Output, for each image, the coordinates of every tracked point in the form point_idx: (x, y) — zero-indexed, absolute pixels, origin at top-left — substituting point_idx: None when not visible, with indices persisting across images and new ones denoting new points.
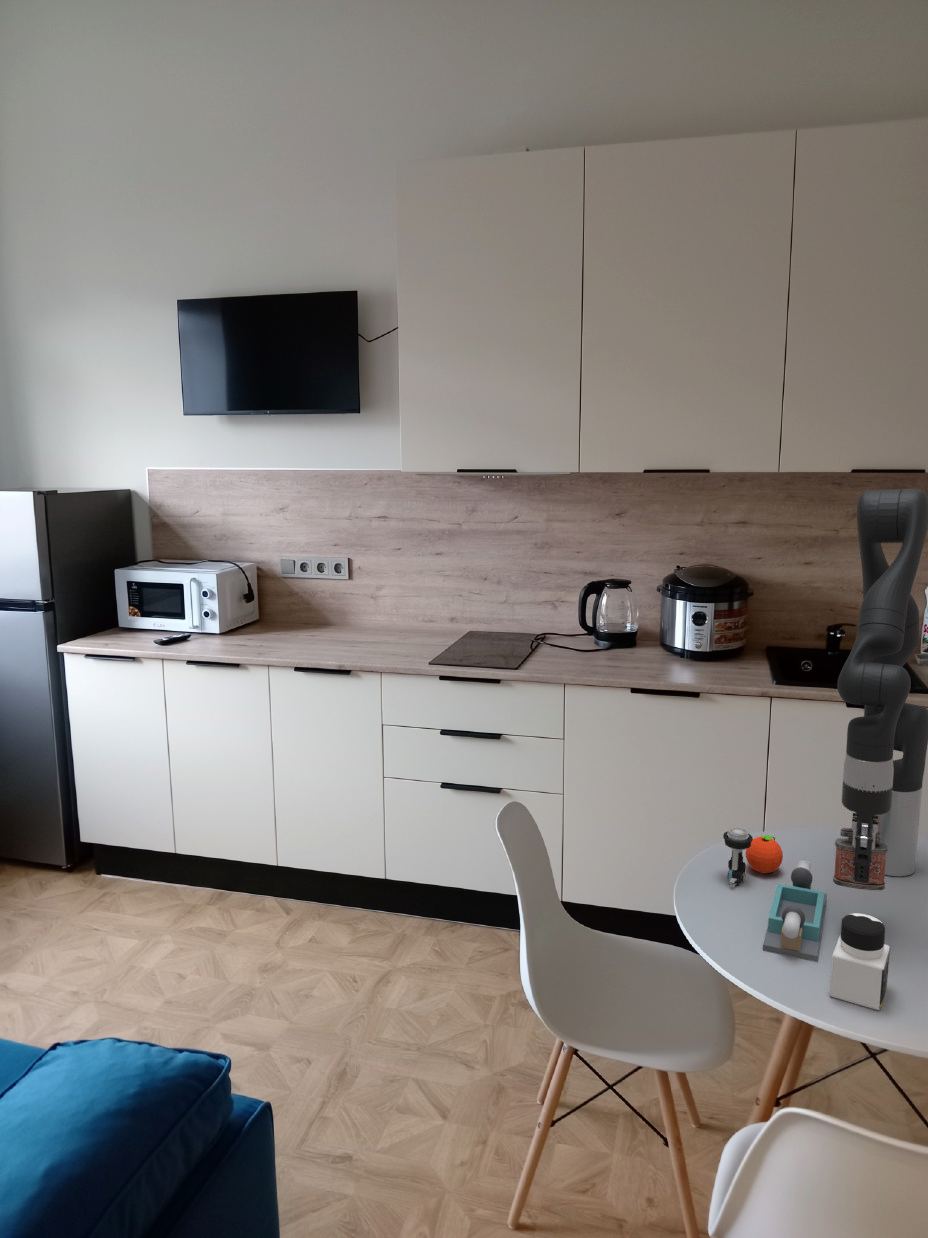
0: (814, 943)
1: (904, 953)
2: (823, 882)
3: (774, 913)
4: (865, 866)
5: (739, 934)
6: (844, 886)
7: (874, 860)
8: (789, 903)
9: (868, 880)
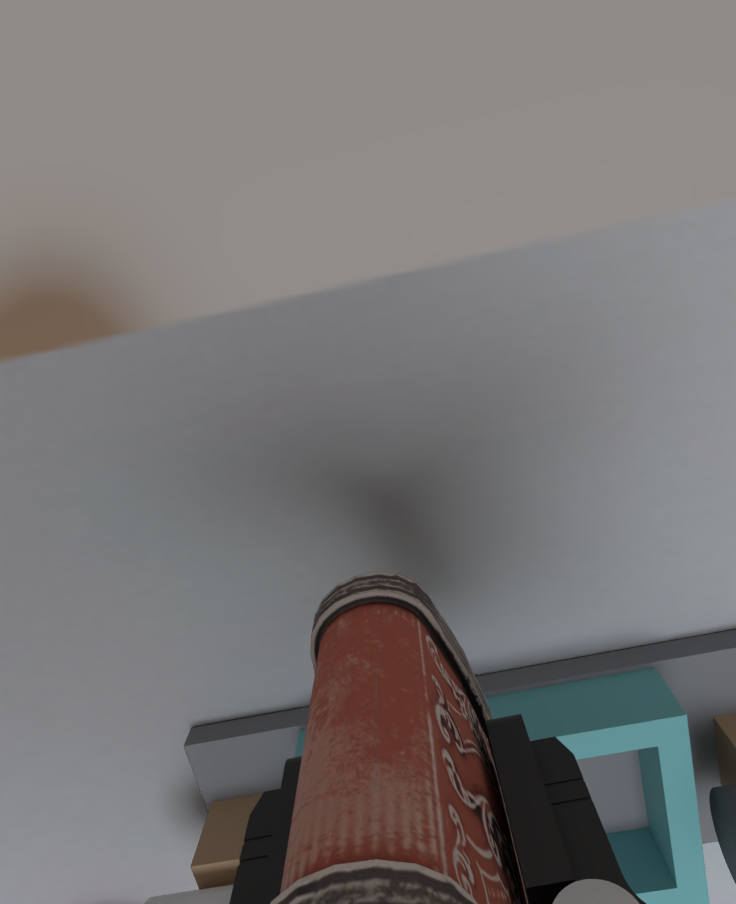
0: (680, 676)
1: (480, 323)
2: (52, 771)
3: (652, 898)
4: (624, 880)
5: None
6: None
7: (485, 859)
8: None
9: (523, 723)
